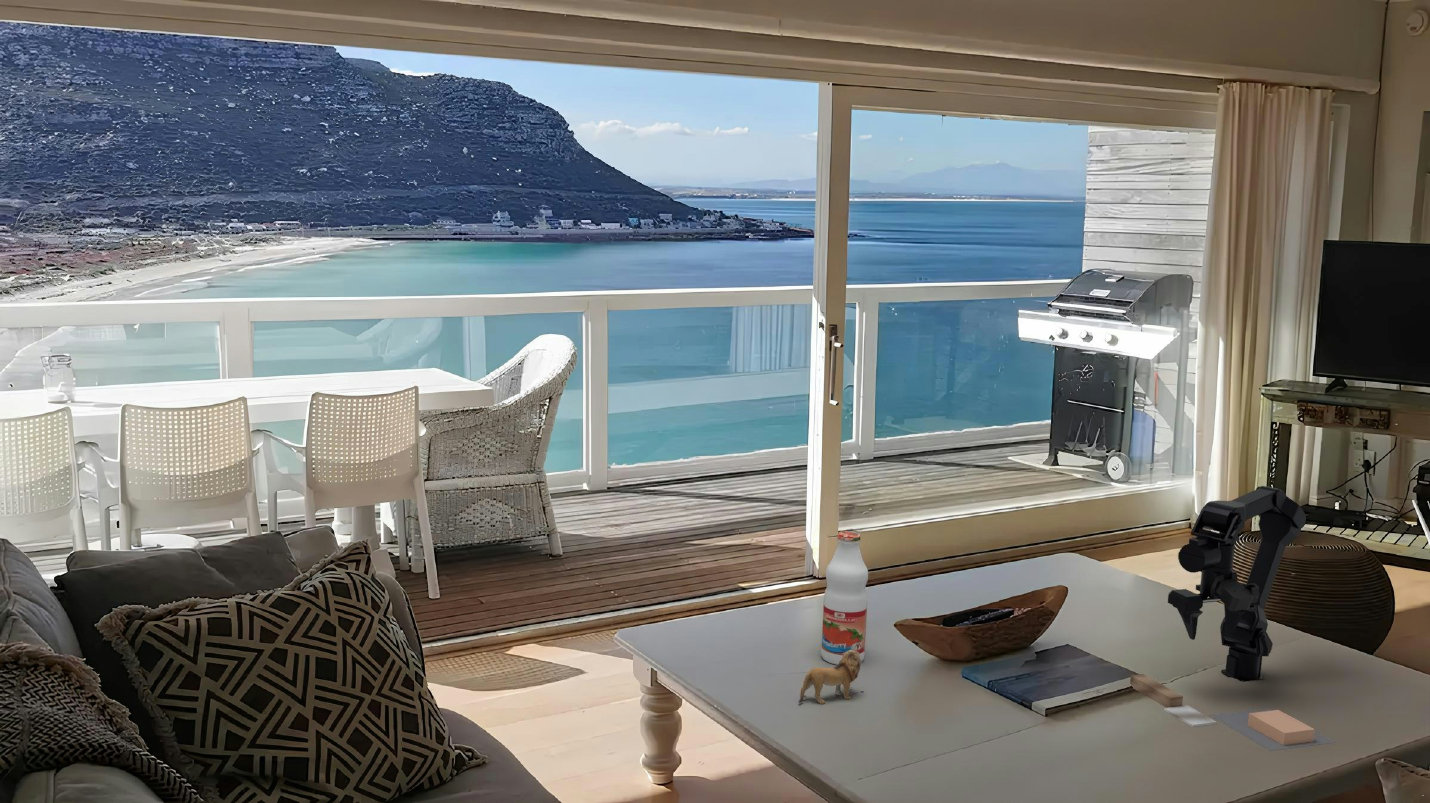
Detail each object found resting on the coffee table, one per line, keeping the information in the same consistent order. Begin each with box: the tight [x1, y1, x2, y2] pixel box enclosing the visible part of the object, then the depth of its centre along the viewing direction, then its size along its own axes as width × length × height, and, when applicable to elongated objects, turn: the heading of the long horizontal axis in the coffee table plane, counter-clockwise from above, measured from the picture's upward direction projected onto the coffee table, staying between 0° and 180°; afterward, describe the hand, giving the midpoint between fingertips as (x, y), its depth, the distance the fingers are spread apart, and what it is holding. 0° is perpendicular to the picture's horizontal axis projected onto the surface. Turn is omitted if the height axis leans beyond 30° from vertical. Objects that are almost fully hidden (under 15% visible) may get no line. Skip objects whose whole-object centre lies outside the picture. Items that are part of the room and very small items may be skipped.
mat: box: [1209, 707, 1336, 752], centre depth 221 cm, size 15×16×1 cm
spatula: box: [1129, 673, 1217, 728], centre depth 231 cm, size 20×6×3 cm, turn 19°
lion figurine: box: [798, 650, 862, 705], centre depth 229 cm, size 15×5×9 cm, turn 122°
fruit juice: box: [820, 530, 869, 666], centre depth 249 cm, size 9×9×28 cm
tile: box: [1248, 709, 1316, 745], centre depth 219 cm, size 7×2×9 cm
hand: (1210, 637), depth 238 cm, fingers open, 9 cm apart
